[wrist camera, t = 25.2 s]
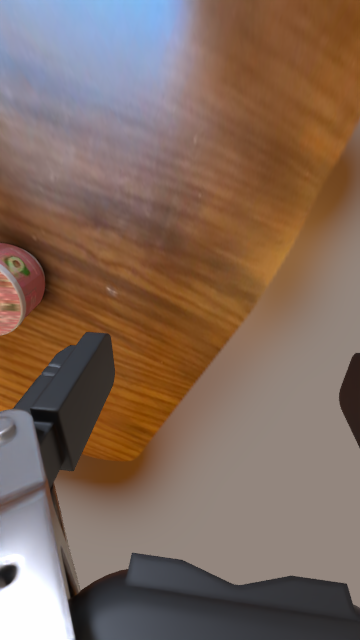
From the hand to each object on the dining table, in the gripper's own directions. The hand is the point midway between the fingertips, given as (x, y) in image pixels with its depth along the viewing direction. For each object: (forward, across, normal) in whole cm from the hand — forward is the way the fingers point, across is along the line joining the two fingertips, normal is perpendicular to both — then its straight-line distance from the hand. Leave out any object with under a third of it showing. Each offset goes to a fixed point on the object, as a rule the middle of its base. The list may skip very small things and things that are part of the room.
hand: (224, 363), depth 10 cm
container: (+28, +27, +9) cm, 40 cm away
